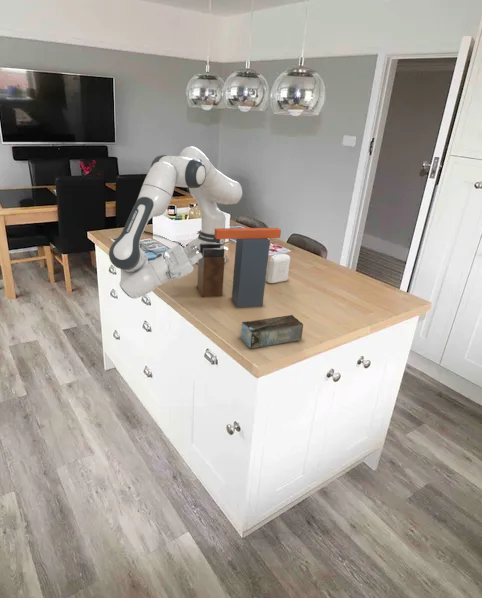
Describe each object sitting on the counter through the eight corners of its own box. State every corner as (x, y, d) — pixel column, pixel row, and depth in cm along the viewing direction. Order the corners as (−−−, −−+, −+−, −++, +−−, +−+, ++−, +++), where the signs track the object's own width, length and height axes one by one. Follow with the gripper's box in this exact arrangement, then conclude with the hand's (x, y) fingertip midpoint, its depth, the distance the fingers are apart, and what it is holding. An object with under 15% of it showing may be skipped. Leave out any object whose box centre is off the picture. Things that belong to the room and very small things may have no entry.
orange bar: (216, 239, 145) (216, 230, 143) (214, 236, 147) (214, 228, 146) (280, 238, 151) (281, 230, 150) (276, 235, 154) (277, 227, 153)
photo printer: (282, 277, 188) (286, 251, 182) (288, 280, 184) (292, 254, 179) (264, 281, 182) (267, 254, 177) (270, 284, 179) (274, 257, 174)
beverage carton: (239, 337, 136) (240, 319, 133) (290, 329, 143) (293, 312, 140) (249, 349, 129) (251, 331, 126) (302, 341, 136) (305, 323, 134)
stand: (237, 307, 156) (243, 240, 145) (231, 298, 163) (236, 234, 152) (262, 306, 159) (270, 240, 148) (255, 297, 165) (262, 234, 155)
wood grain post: (202, 297, 162) (204, 250, 155) (197, 286, 171) (199, 242, 163) (222, 296, 165) (225, 250, 157) (216, 286, 173) (218, 242, 165)
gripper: (163, 273, 136) (200, 252, 136) (156, 252, 153) (189, 234, 154) (173, 288, 139) (209, 267, 139) (165, 266, 157) (197, 248, 157)
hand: (198, 249), depth 146 cm, fingers open, 8 cm apart
